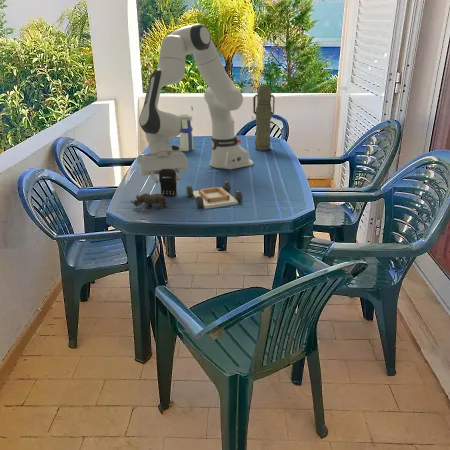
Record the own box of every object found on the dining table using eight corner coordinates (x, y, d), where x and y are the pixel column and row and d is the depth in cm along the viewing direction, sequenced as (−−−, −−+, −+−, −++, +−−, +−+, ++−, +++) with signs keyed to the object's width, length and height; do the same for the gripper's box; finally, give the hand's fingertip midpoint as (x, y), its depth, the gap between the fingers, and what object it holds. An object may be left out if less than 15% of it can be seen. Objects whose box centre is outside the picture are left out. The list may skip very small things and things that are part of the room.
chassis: (225, 189, 190) (225, 179, 189) (242, 203, 175) (242, 192, 173) (186, 194, 184) (185, 184, 183) (199, 209, 169) (199, 198, 167)
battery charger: (159, 196, 182) (157, 170, 178) (161, 193, 186) (159, 167, 181) (176, 197, 182) (174, 170, 177) (177, 194, 185) (176, 168, 181)
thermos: (252, 146, 260) (253, 85, 246) (272, 147, 259) (275, 85, 244) (251, 150, 252) (253, 87, 238) (272, 150, 251) (275, 87, 236)
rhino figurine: (132, 205, 173) (131, 191, 171) (167, 206, 173) (166, 191, 170) (130, 209, 170) (129, 195, 167) (165, 210, 169) (165, 195, 167)
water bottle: (187, 146, 260) (185, 103, 250) (196, 149, 255) (195, 105, 245) (176, 149, 255) (174, 105, 245) (186, 151, 250) (184, 107, 239)
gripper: (136, 150, 179) (143, 180, 175) (184, 146, 186) (192, 175, 181) (135, 158, 185) (142, 188, 180) (182, 154, 191) (189, 182, 187)
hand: (167, 181), depth 181 cm, fingers open, 8 cm apart
